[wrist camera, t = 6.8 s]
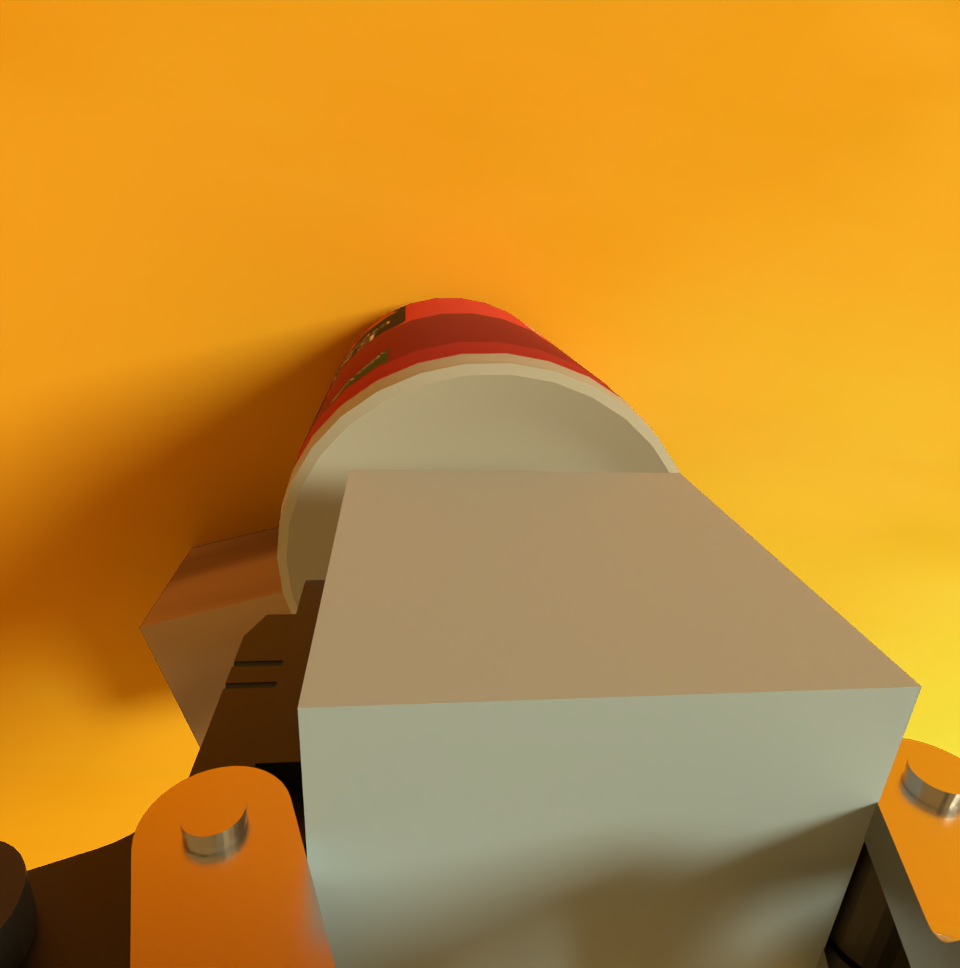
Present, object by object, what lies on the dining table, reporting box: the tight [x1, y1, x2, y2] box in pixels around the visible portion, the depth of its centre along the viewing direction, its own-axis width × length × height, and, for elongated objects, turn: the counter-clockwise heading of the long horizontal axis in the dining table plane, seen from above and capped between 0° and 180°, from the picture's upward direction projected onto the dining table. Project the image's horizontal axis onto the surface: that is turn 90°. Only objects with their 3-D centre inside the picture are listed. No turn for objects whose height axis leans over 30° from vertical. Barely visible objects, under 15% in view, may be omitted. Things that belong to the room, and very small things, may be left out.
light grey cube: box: [298, 470, 921, 968], centre depth 8 cm, size 5×5×5 cm
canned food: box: [277, 298, 679, 614], centre depth 17 cm, size 8×8×11 cm
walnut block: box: [139, 527, 291, 747], centre depth 22 cm, size 5×5×5 cm
